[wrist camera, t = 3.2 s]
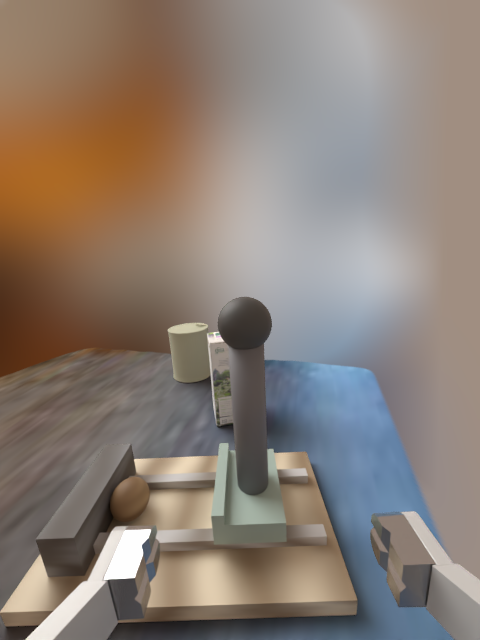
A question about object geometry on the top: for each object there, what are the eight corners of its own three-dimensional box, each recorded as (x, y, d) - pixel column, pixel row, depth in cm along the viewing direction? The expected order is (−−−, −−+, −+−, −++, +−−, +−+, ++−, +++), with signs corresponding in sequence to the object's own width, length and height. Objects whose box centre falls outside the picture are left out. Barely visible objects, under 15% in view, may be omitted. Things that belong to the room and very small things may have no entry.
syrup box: (244, 403, 45) (239, 327, 42) (251, 422, 40) (247, 337, 36) (213, 407, 44) (206, 331, 41) (216, 428, 39) (208, 341, 35)
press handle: (273, 463, 28) (268, 290, 23) (286, 541, 20) (283, 303, 15) (221, 465, 28) (206, 293, 23) (214, 544, 20) (189, 308, 16)
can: (217, 376, 56) (213, 326, 54) (178, 386, 53) (171, 333, 50) (205, 363, 65) (201, 319, 62) (170, 371, 61) (164, 324, 58)
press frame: (306, 461, 31) (306, 424, 30) (356, 614, 18) (360, 558, 16) (106, 470, 32) (98, 433, 30) (5, 626, 18) (-17, 572, 17)
